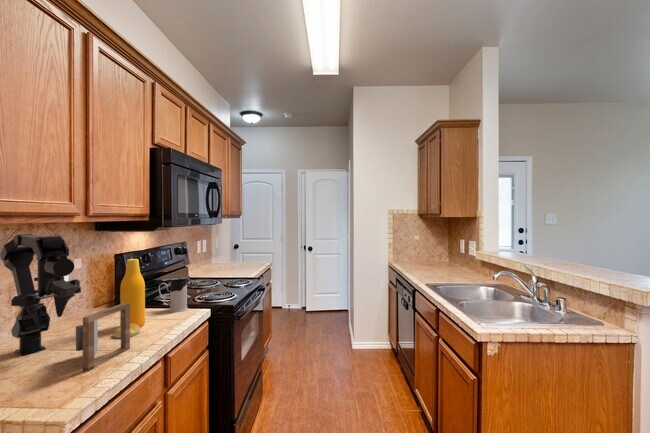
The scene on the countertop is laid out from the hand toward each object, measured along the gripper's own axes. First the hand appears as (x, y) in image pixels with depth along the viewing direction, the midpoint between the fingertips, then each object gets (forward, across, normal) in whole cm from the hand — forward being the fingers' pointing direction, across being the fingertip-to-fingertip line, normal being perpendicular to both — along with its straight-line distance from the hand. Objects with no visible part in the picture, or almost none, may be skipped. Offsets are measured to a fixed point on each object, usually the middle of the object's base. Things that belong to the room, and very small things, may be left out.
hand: (49, 320), depth 106 cm
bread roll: (+14, +24, -9) cm, 29 cm away
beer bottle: (+13, +32, -4) cm, 35 cm away
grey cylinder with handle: (+13, +57, -7) cm, 59 cm away
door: (+12, +1, -12) cm, 17 cm away
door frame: (+13, +3, -19) cm, 24 cm away
